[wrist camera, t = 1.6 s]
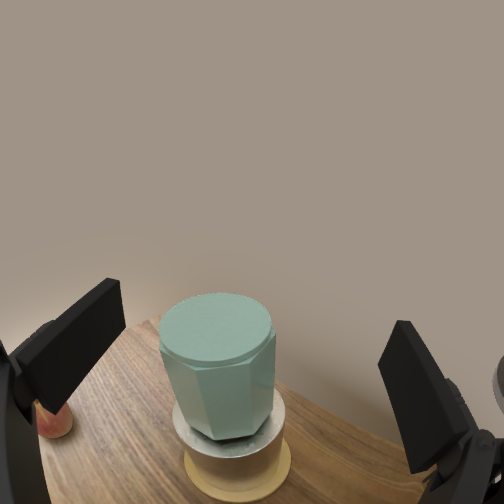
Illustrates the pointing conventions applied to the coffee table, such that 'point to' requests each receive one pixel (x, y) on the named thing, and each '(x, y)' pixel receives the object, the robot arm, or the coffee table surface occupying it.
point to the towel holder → (237, 458)
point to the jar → (220, 362)
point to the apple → (53, 421)
